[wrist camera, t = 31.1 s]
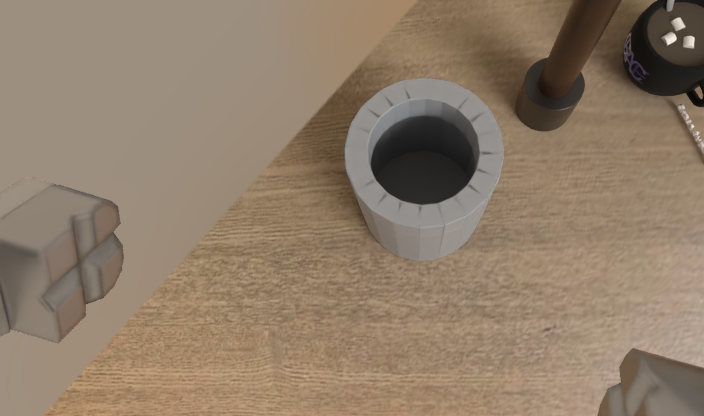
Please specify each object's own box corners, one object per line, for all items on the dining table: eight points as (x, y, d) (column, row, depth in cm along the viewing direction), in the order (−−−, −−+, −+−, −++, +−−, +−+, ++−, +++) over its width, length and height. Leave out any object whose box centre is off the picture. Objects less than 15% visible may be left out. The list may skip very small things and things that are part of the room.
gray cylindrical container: (341, 223, 45) (315, 178, 34) (400, 128, 46) (394, 52, 35) (443, 283, 43) (453, 257, 32) (502, 182, 45) (532, 121, 33)
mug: (597, 46, 46) (630, -11, 39) (674, 16, 46) (722, -47, 39) (673, 187, 43) (724, 154, 36) (756, 155, 43) (824, 115, 36)
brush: (505, 116, 46) (551, -6, 30) (531, 72, 46) (588, -68, 31) (555, 140, 45) (627, 28, 30) (580, 96, 46) (664, -37, 30)
